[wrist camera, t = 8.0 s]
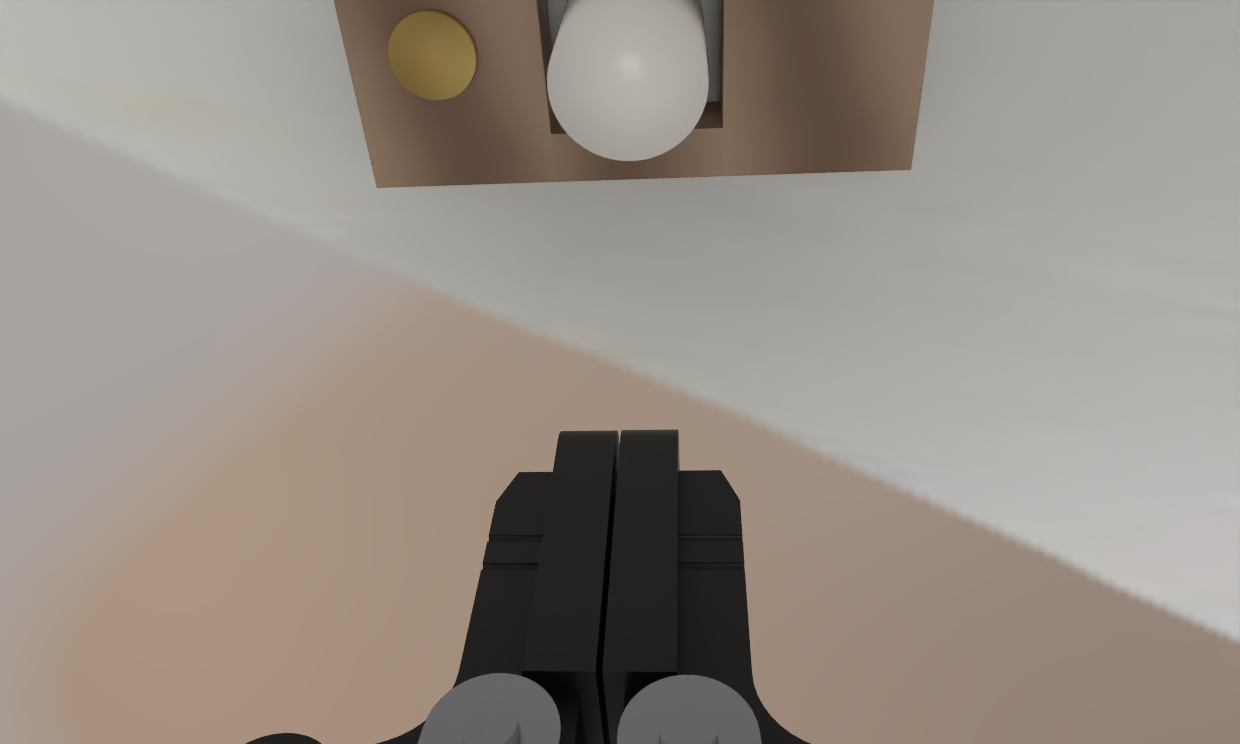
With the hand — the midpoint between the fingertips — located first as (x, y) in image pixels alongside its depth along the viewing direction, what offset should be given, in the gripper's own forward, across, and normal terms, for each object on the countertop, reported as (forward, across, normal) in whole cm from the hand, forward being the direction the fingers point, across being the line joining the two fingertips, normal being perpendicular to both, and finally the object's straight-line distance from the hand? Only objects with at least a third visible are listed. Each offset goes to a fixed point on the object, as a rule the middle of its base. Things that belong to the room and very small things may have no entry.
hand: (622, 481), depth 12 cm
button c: (+19, +1, 0) cm, 19 cm away
